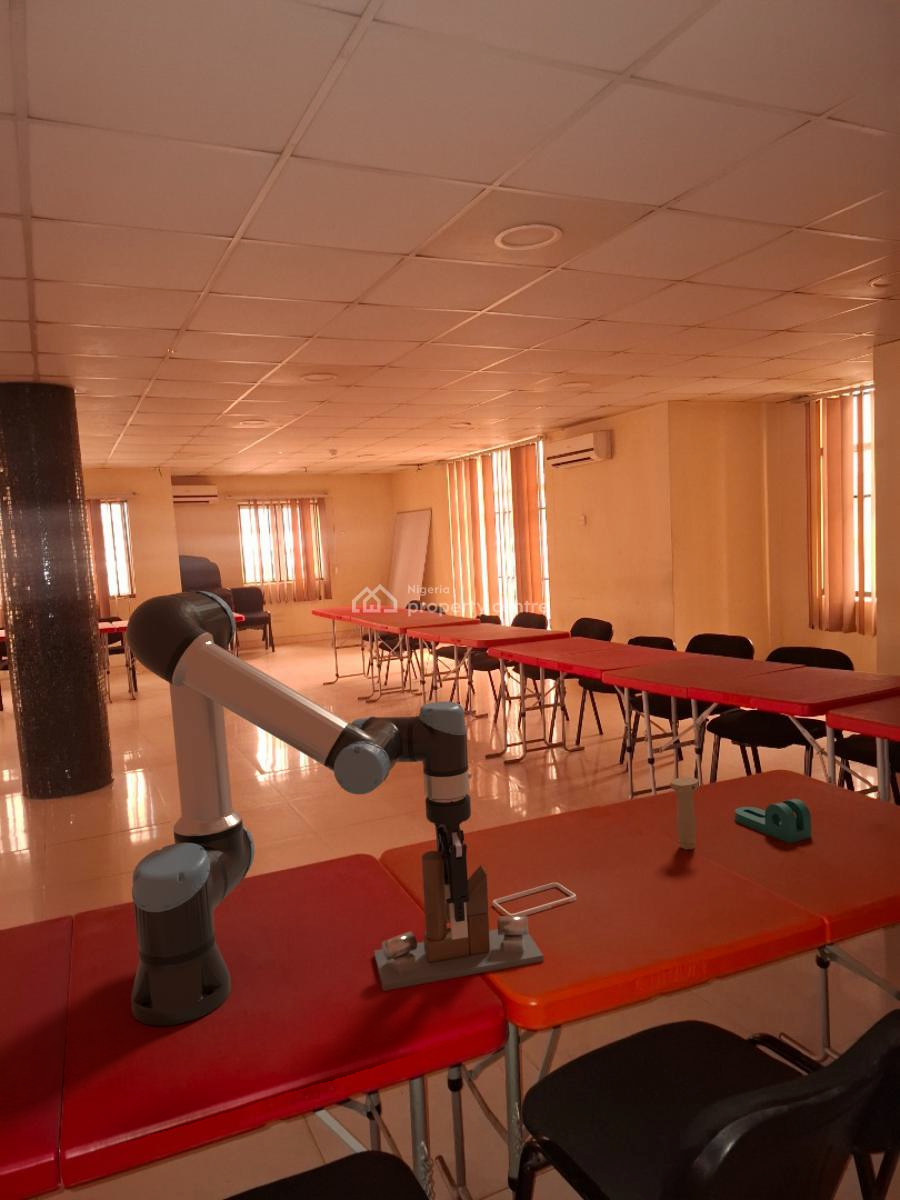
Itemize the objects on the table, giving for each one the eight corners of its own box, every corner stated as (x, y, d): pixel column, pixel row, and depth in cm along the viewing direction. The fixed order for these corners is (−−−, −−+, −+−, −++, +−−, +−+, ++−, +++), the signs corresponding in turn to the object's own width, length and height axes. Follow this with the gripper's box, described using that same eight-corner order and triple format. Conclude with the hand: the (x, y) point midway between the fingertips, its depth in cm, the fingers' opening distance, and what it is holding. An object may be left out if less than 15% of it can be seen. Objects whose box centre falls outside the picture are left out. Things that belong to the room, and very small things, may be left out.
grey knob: (498, 952, 133) (497, 923, 132) (500, 938, 137) (498, 911, 136) (528, 952, 132) (526, 923, 131) (528, 938, 136) (527, 911, 136)
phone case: (556, 887, 159) (491, 906, 152) (556, 881, 158) (491, 900, 152) (577, 902, 152) (511, 922, 145) (577, 895, 152) (510, 915, 145)
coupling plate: (383, 990, 125) (382, 984, 125) (374, 955, 136) (374, 950, 136) (543, 961, 131) (543, 955, 131) (523, 929, 141) (522, 924, 141)
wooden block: (490, 952, 132) (486, 852, 130) (428, 963, 130) (422, 861, 128) (484, 940, 136) (480, 842, 134) (424, 951, 134) (418, 851, 131)
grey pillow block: (394, 976, 127) (391, 947, 127) (381, 965, 131) (379, 936, 130) (420, 966, 130) (418, 937, 129) (407, 955, 133) (405, 926, 133)
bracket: (811, 837, 175) (810, 803, 174) (789, 844, 172) (788, 809, 172) (750, 814, 191) (749, 782, 191) (729, 819, 189) (728, 787, 188)
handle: (705, 847, 173) (703, 780, 172) (685, 854, 170) (682, 787, 168) (689, 840, 177) (686, 775, 176) (668, 847, 174) (665, 781, 173)
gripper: (483, 809, 123) (491, 952, 125) (456, 777, 141) (464, 902, 142) (436, 816, 121) (445, 960, 123) (415, 782, 139) (423, 908, 141)
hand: (455, 928), depth 133 cm, fingers open, 5 cm apart
